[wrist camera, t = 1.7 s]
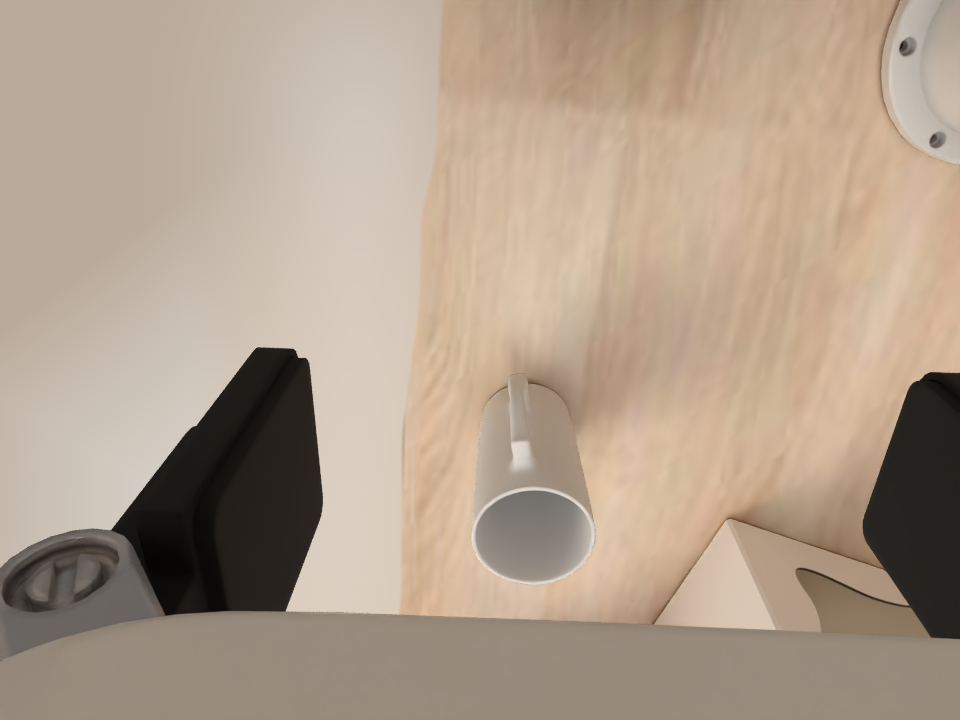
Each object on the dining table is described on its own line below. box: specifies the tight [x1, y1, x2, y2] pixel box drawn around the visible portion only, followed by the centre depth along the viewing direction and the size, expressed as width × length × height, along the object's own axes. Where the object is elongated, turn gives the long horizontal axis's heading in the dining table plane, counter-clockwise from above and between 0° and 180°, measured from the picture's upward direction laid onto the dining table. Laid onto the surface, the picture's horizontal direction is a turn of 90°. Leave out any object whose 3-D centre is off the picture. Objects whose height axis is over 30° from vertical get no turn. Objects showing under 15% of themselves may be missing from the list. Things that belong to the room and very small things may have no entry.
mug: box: [471, 374, 596, 585], centre depth 42 cm, size 10×7×12 cm, turn 8°
